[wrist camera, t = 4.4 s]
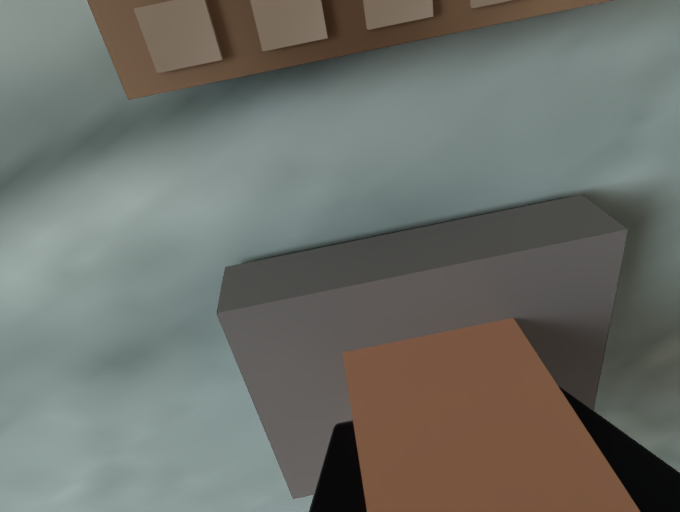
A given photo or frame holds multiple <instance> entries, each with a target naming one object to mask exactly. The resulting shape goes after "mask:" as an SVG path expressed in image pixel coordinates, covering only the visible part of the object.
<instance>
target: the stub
mask: <svg viewBox="0 0 680 512" xmlns="http://www.w3.org/2000/svg"><path fill="white" fill-rule="evenodd" d="M627 232H628V229H627V228H625V227H624V226H623V225H622V224H620V223H619V222H618V221H616V220H615V219H614V218H612V217H611V216H610V215H608V214H607V213H606V212H605V211H603V210H602V209H601V208H599V207H598V206H597V205H595V204H594V203H593V202H591V201H590V200H589V199H587V198H586V197H585V196H584V195H577V196H572V197H567V198H562V199H558V200H553V201H548V202H543V203H538V204H533V205H528V206H523V207H518V208H513V209H508V210H504V211H499V212H494V213H489V214H484V215H479V216H474V217H469V218H464V219H459V220H455V221H450V222H445V223H440V224H435V225H430V226H425V227H420V228H415V229H410V230H405V231H401V232H396V233H391V234H386V235H381V236H376V237H371V238H366V239H361V240H356V241H352V242H347V243H342V244H337V245H332V246H327V247H322V248H317V249H312V250H307V251H302V252H298V253H293V254H288V255H283V256H278V257H273V258H268V259H263V260H258V261H253V262H249V263H244V264H239V265H234V266H229V267H225V271H224V276H223V281H222V286H221V292H220V297H219V302H218V307H217V316H218V318H219V321H220V323H221V326H222V328H223V330H224V333H225V335H226V338H227V340H228V343H229V345H230V347H231V350H232V352H233V355H234V357H235V359H236V362H237V364H238V367H239V369H240V372H241V374H242V376H243V379H244V381H245V384H246V386H247V389H248V391H249V393H250V396H251V398H252V401H253V403H254V405H255V408H256V410H257V413H258V415H259V418H260V420H261V422H262V425H263V427H264V430H265V432H266V435H267V437H268V439H269V442H270V444H271V447H272V449H273V451H274V454H275V456H276V459H277V461H278V464H279V466H280V468H281V471H282V473H283V476H284V478H285V481H286V483H287V485H288V488H289V490H290V493H291V495H292V497H293V499H295V498H300V497H305V496H310V495H314V493H315V490H316V486H317V483H318V479H319V476H320V473H321V469H322V466H323V462H324V459H325V455H326V452H327V449H328V445H329V442H330V438H331V435H332V431H333V428H334V426H335V425H336V424H337V423H341V422H346V421H351V420H353V424H354V431H355V437H356V444H357V450H358V457H359V463H360V470H361V476H362V482H363V489H364V495H365V502H366V508H367V512H640V510H639V509H638V507H637V506H636V504H635V503H634V501H633V500H632V498H631V497H630V495H629V494H628V492H627V490H626V489H625V487H624V486H623V484H622V483H621V481H620V480H619V478H618V477H617V475H616V474H615V472H614V471H613V469H612V468H611V466H610V465H609V463H608V462H607V460H606V458H605V457H604V455H603V454H602V452H601V451H600V449H599V448H598V446H597V445H596V443H595V442H594V440H593V439H592V437H591V436H590V434H589V433H588V431H587V429H586V428H585V426H584V425H583V423H582V422H581V420H580V419H579V417H578V416H577V414H576V413H575V411H574V410H573V408H572V407H571V405H570V404H569V402H568V400H567V399H566V397H565V396H564V394H563V393H562V391H561V390H560V388H559V387H558V386H560V387H561V388H562V389H564V390H565V391H567V392H568V393H569V394H571V395H572V396H574V397H575V398H576V399H578V400H579V401H580V402H582V403H583V404H585V405H586V406H587V407H589V408H590V409H592V410H594V405H595V399H596V394H597V389H598V384H599V378H600V373H601V368H602V363H603V358H604V352H605V347H606V342H607V337H608V331H609V326H610V321H611V316H612V311H613V305H614V300H615V295H616V290H617V284H618V279H619V274H620V269H621V264H622V258H623V253H624V248H625V243H626V237H627Z"/></svg>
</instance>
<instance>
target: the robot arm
mask: <svg viewBox="0 0 680 512" xmlns="http://www.w3.org/2000/svg"><path fill="white" fill-rule="evenodd" d="M558 387H559V388H560V390H561V391H562V393H563V394H564V396H565V397H566V399H567V400H568V402H569V404H570V405H571V407H572V408H573V410H574V411H575V413H576V414H577V416H578V417H579V419H580V420H581V422H582V423H583V425H584V426H585V428H586V429H587V431H588V433H589V434H590V436H591V437H592V439H593V440H594V442H595V443H596V445H597V446H598V448H599V449H600V451H601V452H602V454H603V455H604V457H605V458H606V460H607V462H608V463H609V465H610V466H611V468H612V469H613V471H614V472H615V474H616V475H617V477H618V478H619V480H620V481H621V483H622V484H623V486H624V487H625V489H626V490H627V492H628V494H629V495H630V497H631V498H632V500H633V501H634V503H635V504H636V506H637V507H638V509H639V510H640V512H680V473H679V472H678V471H676V470H675V469H674V468H672V467H671V466H669V465H668V464H667V463H665V462H664V461H663V460H661V459H660V458H658V457H657V456H656V455H654V454H653V453H651V452H650V451H649V450H647V449H646V448H644V447H643V446H642V445H640V444H639V443H637V442H636V441H635V440H633V439H632V438H631V437H629V436H628V435H626V434H625V433H624V432H622V431H621V430H619V429H618V428H617V427H615V426H614V425H612V424H611V423H610V422H608V421H607V420H606V419H604V418H603V417H601V416H600V415H599V414H597V413H596V412H594V411H593V410H592V409H590V408H589V407H587V406H586V405H585V404H583V403H582V402H580V401H579V400H578V399H576V398H575V397H574V396H572V395H571V394H569V393H568V392H567V391H565V390H564V389H562V388H561V387H560V386H558ZM309 512H367V508H366V502H365V495H364V489H363V482H362V476H361V470H360V463H359V457H358V450H357V444H356V437H355V431H354V424H353V420H351V421H346V422H341V423H337V424H336V425H335V426H334V428H333V431H332V435H331V438H330V442H329V445H328V449H327V452H326V455H325V459H324V462H323V466H322V469H321V473H320V476H319V479H318V483H317V486H316V490H315V493H314V497H313V500H312V503H311V507H310V510H309Z"/></svg>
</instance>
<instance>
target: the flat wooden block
mask: <svg viewBox="0 0 680 512" xmlns="http://www.w3.org/2000/svg"><path fill="white" fill-rule="evenodd" d="M87 1H88V4H89V6H90V8H91V11H92V13H93V16H94V18H95V21H96V23H97V25H98V28H99V30H100V33H101V35H102V37H103V40H104V42H105V45H106V47H107V50H108V52H109V54H110V57H111V59H112V62H113V64H114V67H115V69H116V71H117V74H118V76H119V79H120V81H121V83H122V86H123V88H124V91H125V93H126V96H127V98H128V100H130V99H135V98H140V97H145V96H149V95H154V94H159V93H164V92H169V91H174V90H179V89H184V88H188V87H193V86H198V85H203V84H208V83H213V82H218V81H223V80H227V79H232V78H237V77H242V76H247V75H252V74H257V73H261V72H266V71H271V70H276V69H281V68H286V67H291V66H296V65H300V64H305V63H310V62H315V61H320V60H325V59H330V58H334V57H339V56H344V55H349V54H354V53H359V52H364V51H369V50H373V49H378V48H383V47H388V46H393V45H398V44H403V43H408V42H412V41H417V40H422V39H427V38H432V37H437V36H442V35H446V34H451V33H456V32H461V31H466V30H471V29H476V28H481V27H485V26H490V25H495V24H500V23H505V22H510V21H515V20H520V19H524V18H529V17H534V16H539V15H544V14H549V13H554V12H558V11H563V10H568V9H573V8H578V7H583V6H588V5H593V4H597V3H602V2H607V1H612V0H87Z"/></svg>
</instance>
